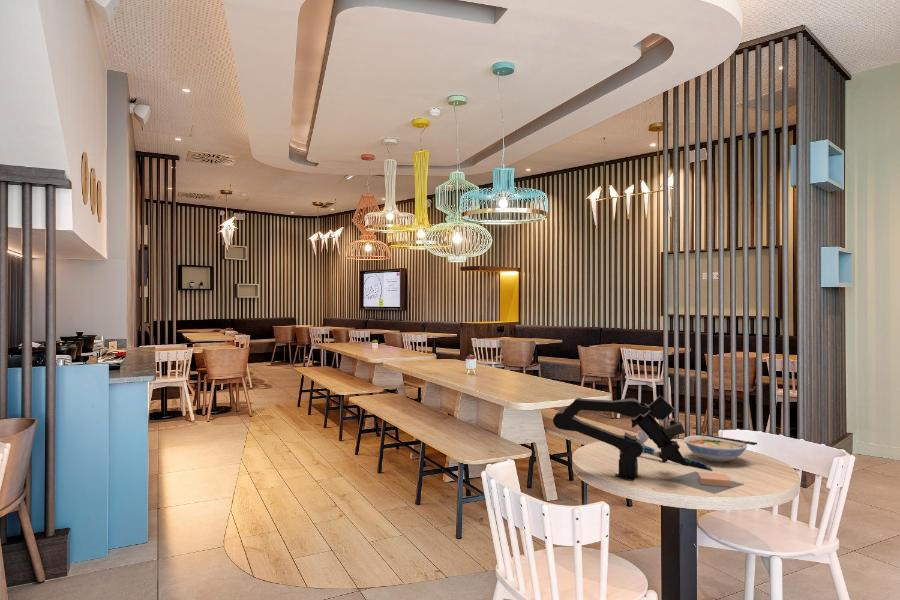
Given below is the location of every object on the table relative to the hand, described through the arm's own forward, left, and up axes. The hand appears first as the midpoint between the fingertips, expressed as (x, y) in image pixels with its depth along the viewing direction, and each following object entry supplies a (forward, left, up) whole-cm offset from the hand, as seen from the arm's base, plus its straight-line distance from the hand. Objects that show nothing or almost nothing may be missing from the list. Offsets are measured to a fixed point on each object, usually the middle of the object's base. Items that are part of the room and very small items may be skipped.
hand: (685, 463), depth 195 cm
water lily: (+23, +36, -7) cm, 43 cm away
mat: (+4, -4, -6) cm, 9 cm away
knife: (+17, +17, -6) cm, 25 cm away
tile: (+3, -3, -4) cm, 6 cm away
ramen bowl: (+36, +11, -6) cm, 38 cm away
